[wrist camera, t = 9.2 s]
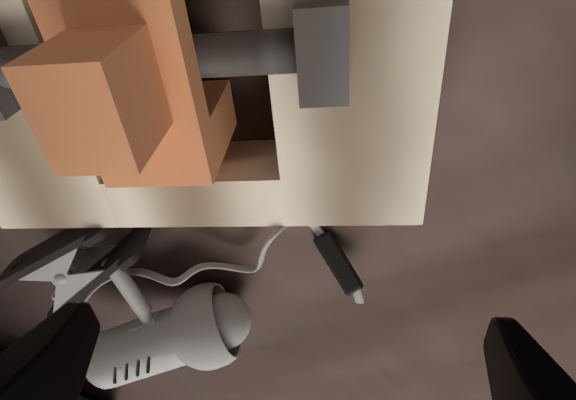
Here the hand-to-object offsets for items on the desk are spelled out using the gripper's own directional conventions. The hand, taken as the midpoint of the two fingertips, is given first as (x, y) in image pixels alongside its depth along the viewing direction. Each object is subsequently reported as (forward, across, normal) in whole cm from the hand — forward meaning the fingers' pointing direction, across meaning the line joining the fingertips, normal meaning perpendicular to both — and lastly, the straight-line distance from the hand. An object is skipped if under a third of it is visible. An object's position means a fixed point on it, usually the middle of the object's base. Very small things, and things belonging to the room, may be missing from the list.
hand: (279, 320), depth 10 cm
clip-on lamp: (+12, +7, +10) cm, 17 cm away
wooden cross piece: (+11, +5, -4) cm, 12 cm away
